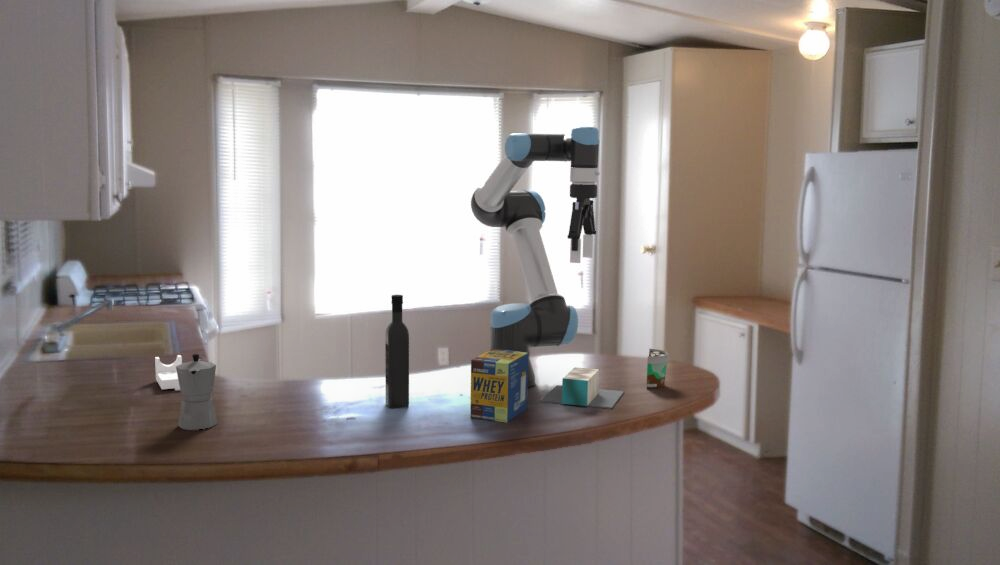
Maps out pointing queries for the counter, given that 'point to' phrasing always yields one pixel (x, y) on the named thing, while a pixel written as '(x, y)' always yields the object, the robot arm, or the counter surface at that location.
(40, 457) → the counter surface
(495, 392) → the protein box
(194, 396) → the coffeepot
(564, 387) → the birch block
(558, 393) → the mat
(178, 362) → the bracket
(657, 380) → the food container
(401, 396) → the wine bottle
